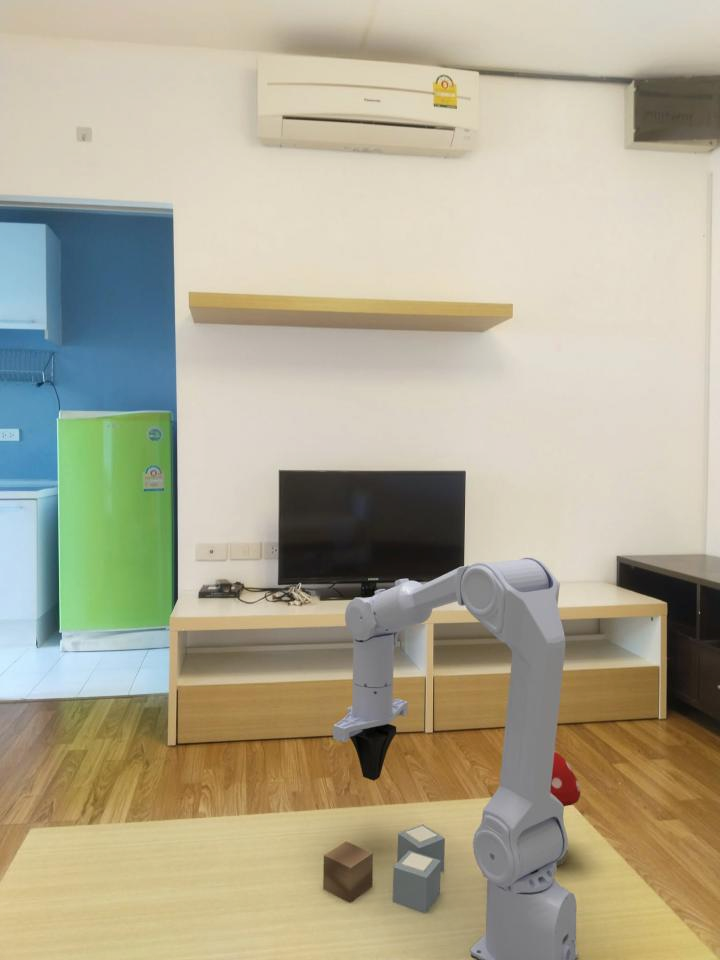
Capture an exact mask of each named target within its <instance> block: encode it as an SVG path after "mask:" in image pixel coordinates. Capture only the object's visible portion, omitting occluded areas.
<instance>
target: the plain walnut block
mask: <svg viewBox="0 0 720 960" xmlns="http://www.w3.org/2000/svg"><path fill="white" fill-rule="evenodd" d="M373 863H374V853H373V852H371V851H368V850H367V849H365V848H362V847H360V846H358V845H355V844H353V843H351V842H349V841H344V842H343V843H340V844H339V845H338V846H337V847H334V848H333V849H332V850H330V851H328V852H326V853H325V854H323V879H322V881H323V883H322V890H324V891H326V892H328V893H329V894H332V895H334V896H336V897H337V898H340V899H342V900H344V901H345V902H348V903H350V904H351V903H352V902H354V901H355V900H356V899H358V898H359V897H360V896H362V895H363V894H364V893H366V892H368V891H369V890H370V889H372V888H373V866H374V865H373Z"/></svg>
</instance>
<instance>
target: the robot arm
mask: <svg viewBox="0 0 720 960" xmlns="http://www.w3.org/2000/svg"><path fill="white" fill-rule="evenodd" d="M547 566H548V565H546V564H545V563H544V562H543V561H542V560H541V559H538V558H536V557H532V556H531V557H522V558H520V559H512V560H502V561H496V562H493V561H492V562H481V561H480V562H474V563H473V564H471V565H464V566H463V565H462V566H459V567H457V568H455V569H453V570H451V571H448V572H447V573H445V574H443V575H441V576H439V577H436V578H434V579H433V580H430V581H428V582H426V583H424V584H422V583H420V582H418V581H416V580H409V578H401V579H397V580H395V581H394V585H395V586H393V587H390V588H389V589H385V588H380V589H377V590H375V591H374V595H372V596H370V597H360V596H359V597H357V596H356V597H354V598H353V599H352V600H351V601H350V602H349V603H348V604H347V606H346V609H345V612H344V613H345V615H344V620H345V626H346V628H347V629H346V630H347V631H348V633H349V634H350V636H351V637H352V639H353V641H352V646H353V647H352V648H353V649H352V650H353V651H352V653H353V654H352V697H351V698H352V701H351V702H352V704H351V706H348V707H347V708H346V709H347V711H346V712H347V715H345V716H344V717H343V718H342V719H341V720H340V721H338V722H337V723H335V724H333V726H332V730H333V731H332V732H333V733H332V734H333V735H332V739H333V740H336V741H339V742H341V743H346V742H349V739H350V741H351V742H352V744H353V746H354V749H355V751H356V753H357V757H358V760H359V761H358V762H359V765H360V768H361V773H362V777H363V778H365V779H367V780H371V781H373V782H374V781H376V780H378V779H380V777H381V773H382V769H383V766H384V762H385V758H386V756H387V752H388V750H389V747H390V745H391V743H392V741H393V739H394V738H395V736H396V734H397V726H396V725H394V724H390V723H392V722H394V720H395V719H396V717H399V716H402V717H404V716H407V715H408V703H409V702H408V701H407V700H402V699H399V698H396V699H394V664H395V663H394V659H395V658H394V656H395V655H394V653H395V651H394V650H395V649H396V647H397V645H398V638H399V634H400V632H401V631H403V630H406V629H408V628H411V627H415V626H417V625H420V624H423V623H425V622H426V621H428V620H429V619H430V617H431V616H432V612H433V609H436V608H440V607H443V606H446V605H448V604H449V605H450V604H452V603H456V602H457V604H458V605H459V606H461V607H462V606H465V608H466V610H467V611H468V613H470V615H472V616H473V617H474V619H476V620H477V621H478V622H479V623H480V624H481V625H482V626H484V627H485V629H487V630H488V631H489V632H490V633H492V635H494V637H496V638H497V639H498V640H499V641H500V642H502V643H504V644H506V646H508V649H509V650H510V651H511V664H510V674H509V675H510V676H509V685H508V692H507V693H508V695H507V705H506V713H505V714H506V715H505V725H504V733H503V734H504V736H503V746H502V754H501V755H502V756H501V766H500V778H499V786H498V788H497V789H496V790H495V792H494V794H493V795H492V797H491V798H490V800H489V801H488V802H487V804H486V805H485V807H484V808H483V810H482V817H481V822H480V824H479V826H478V828H477V829H476V830H475V833H474V836H473V840H472V848H473V854H474V858H475V862H476V864H477V867H478V868H479V869H480V870H479V871H480V872H481V873H482V876H483V877H484V878H486V909H485V910H486V911H485V912H486V913H485V914H486V915H485V916H486V917H485V918H486V919H485V920H486V921H485V934H483V936H482V937H481V938H480V939H479V940H478V941H477V942H476V943H475V944H474V945H473V946H472V947H471V948H470V955H472V956H473V957H475V958H477V959H479V960H576V959H577V957H579V952H578V950H577V949H576V945H577V944H576V943H577V940H576V939H577V910H578V909H577V907H578V906H577V898H576V896H575V894H574V893H573V892H572V891H570V890H568V889H567V888H565V887H564V886H562V885H561V884H560V883H559V882H558V881H557V880H556V879H555V877H554V874H556V872H557V866H556V861H558V860H559V859H561V858H562V857H563V856H564V854H565V853H566V850H567V851H568V842H569V841H568V834H567V831H566V826H565V822H564V808H565V806H563V804H562V803H561V802H560V801H559V800H558V799H557V798H556V797H555V796H554V795H553V794H551V793H550V789H551V779H552V770H553V760H554V751H555V752H556V749H555V748H556V739H557V729H558V720H559V710H560V703H561V693H562V681H563V672H564V665H565V656H566V655H565V654H566V635H565V630H564V627H563V624H562V620H561V615H560V611H559V605H558V604H559V595H560V585H561V584H560V581H559V580H558V579H557V578H556V576H554V574H553V573H552V571H551V570H550V569H549V568H548V567H547Z"/></svg>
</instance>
